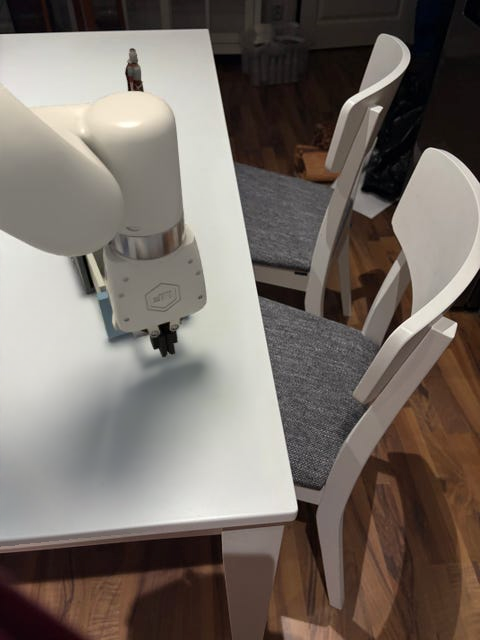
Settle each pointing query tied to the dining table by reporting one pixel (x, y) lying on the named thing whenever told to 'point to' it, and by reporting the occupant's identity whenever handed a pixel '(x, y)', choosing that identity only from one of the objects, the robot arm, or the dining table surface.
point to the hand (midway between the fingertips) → (165, 347)
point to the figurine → (133, 72)
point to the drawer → (104, 293)
